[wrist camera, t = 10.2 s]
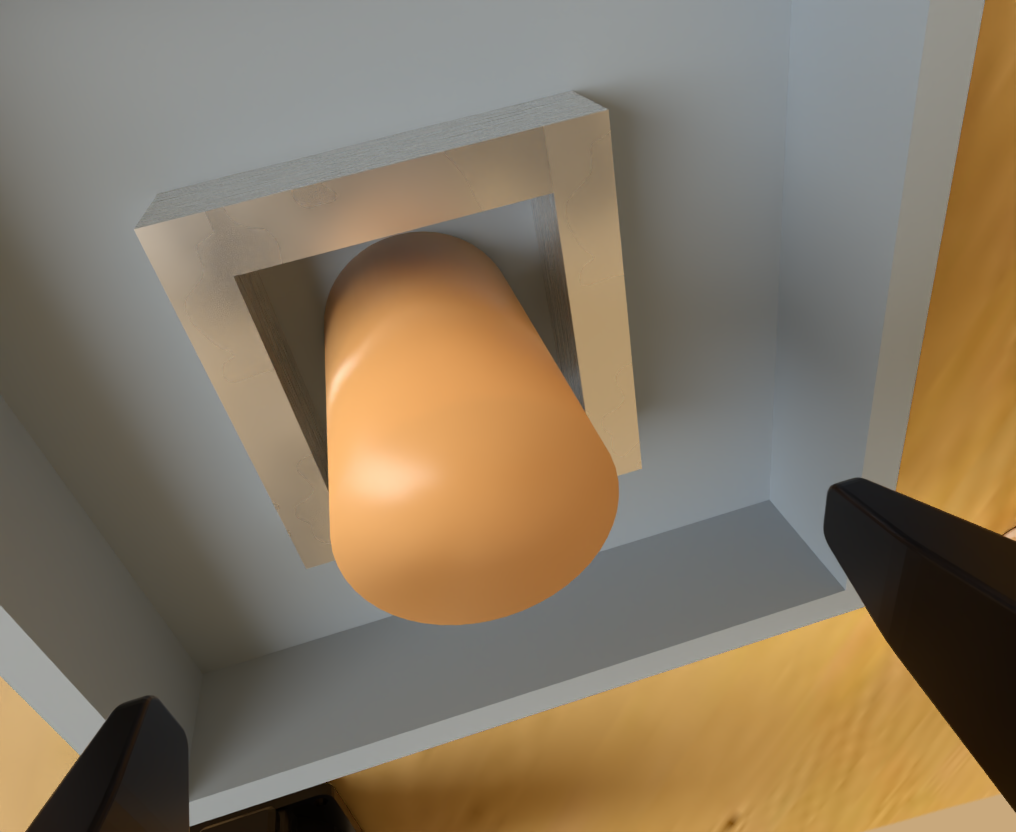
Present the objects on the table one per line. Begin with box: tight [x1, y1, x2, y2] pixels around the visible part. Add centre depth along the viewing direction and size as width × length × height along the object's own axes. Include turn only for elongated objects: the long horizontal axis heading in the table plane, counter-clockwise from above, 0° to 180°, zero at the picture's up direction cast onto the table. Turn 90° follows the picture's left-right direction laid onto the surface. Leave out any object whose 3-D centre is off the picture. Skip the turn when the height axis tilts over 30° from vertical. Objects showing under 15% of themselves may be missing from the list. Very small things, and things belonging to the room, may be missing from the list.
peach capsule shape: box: [324, 231, 619, 625], centre depth 13 cm, size 4×4×7 cm
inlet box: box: [0, 0, 985, 826], centre depth 15 cm, size 20×20×4 cm
